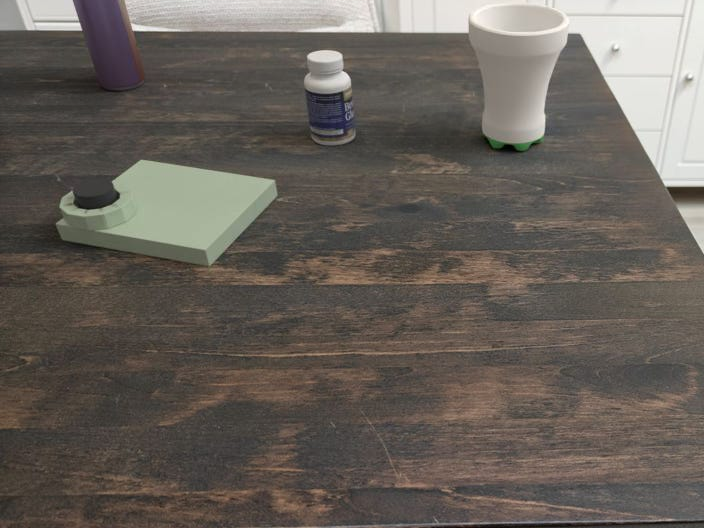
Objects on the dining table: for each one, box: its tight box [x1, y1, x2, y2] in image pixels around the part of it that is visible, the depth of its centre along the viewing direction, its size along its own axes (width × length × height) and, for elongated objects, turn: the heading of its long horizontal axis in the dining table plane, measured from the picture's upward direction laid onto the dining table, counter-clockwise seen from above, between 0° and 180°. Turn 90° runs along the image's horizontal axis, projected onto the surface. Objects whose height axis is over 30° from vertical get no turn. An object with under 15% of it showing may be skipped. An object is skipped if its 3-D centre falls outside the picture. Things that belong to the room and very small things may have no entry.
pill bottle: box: [303, 49, 356, 147], centre depth 87 cm, size 5×5×10 cm
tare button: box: [72, 178, 118, 210], centre depth 71 cm, size 4×4×2 cm
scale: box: [55, 159, 278, 267], centre depth 75 cm, size 16×14×4 cm
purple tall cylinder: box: [72, 0, 146, 92], centre depth 97 cm, size 6×6×15 cm
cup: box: [467, 1, 570, 152], centre depth 86 cm, size 11×11×14 cm
